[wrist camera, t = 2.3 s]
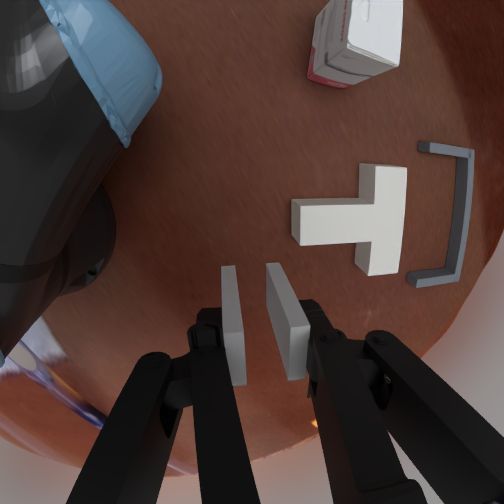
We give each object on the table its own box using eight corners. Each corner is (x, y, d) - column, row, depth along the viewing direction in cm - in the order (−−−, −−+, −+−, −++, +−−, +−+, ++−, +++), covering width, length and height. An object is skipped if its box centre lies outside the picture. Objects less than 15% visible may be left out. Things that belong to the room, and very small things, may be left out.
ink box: (345, 91, 29) (402, 70, 18) (303, 79, 28) (345, 48, 17) (354, 28, 27) (406, -9, 15) (314, 15, 26) (355, -32, 15)
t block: (291, 268, 35) (299, 282, 32) (290, 162, 31) (300, 164, 28) (382, 260, 36) (397, 272, 33) (388, 164, 32) (407, 167, 29)
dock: (406, 280, 38) (415, 288, 35) (418, 141, 32) (429, 142, 29) (448, 274, 38) (458, 281, 36) (462, 148, 32) (474, 150, 30)
